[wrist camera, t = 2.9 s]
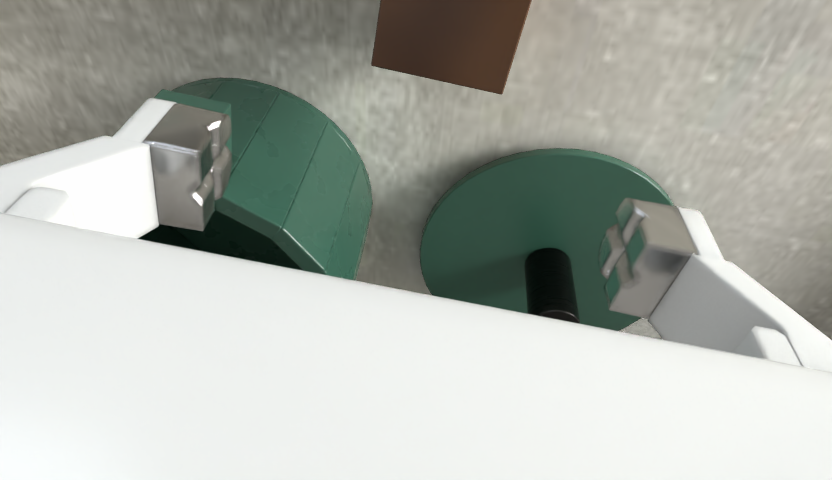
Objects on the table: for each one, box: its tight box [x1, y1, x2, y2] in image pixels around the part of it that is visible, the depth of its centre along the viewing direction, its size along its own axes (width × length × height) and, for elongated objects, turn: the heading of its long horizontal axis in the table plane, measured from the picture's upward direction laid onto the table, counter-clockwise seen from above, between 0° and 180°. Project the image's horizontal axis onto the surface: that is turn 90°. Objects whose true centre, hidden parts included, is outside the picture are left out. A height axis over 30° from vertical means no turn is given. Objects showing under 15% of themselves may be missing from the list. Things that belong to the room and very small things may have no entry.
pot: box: [138, 78, 372, 281], centre depth 28 cm, size 13×18×8 cm
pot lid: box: [420, 148, 674, 331], centre depth 30 cm, size 14×14×6 cm
